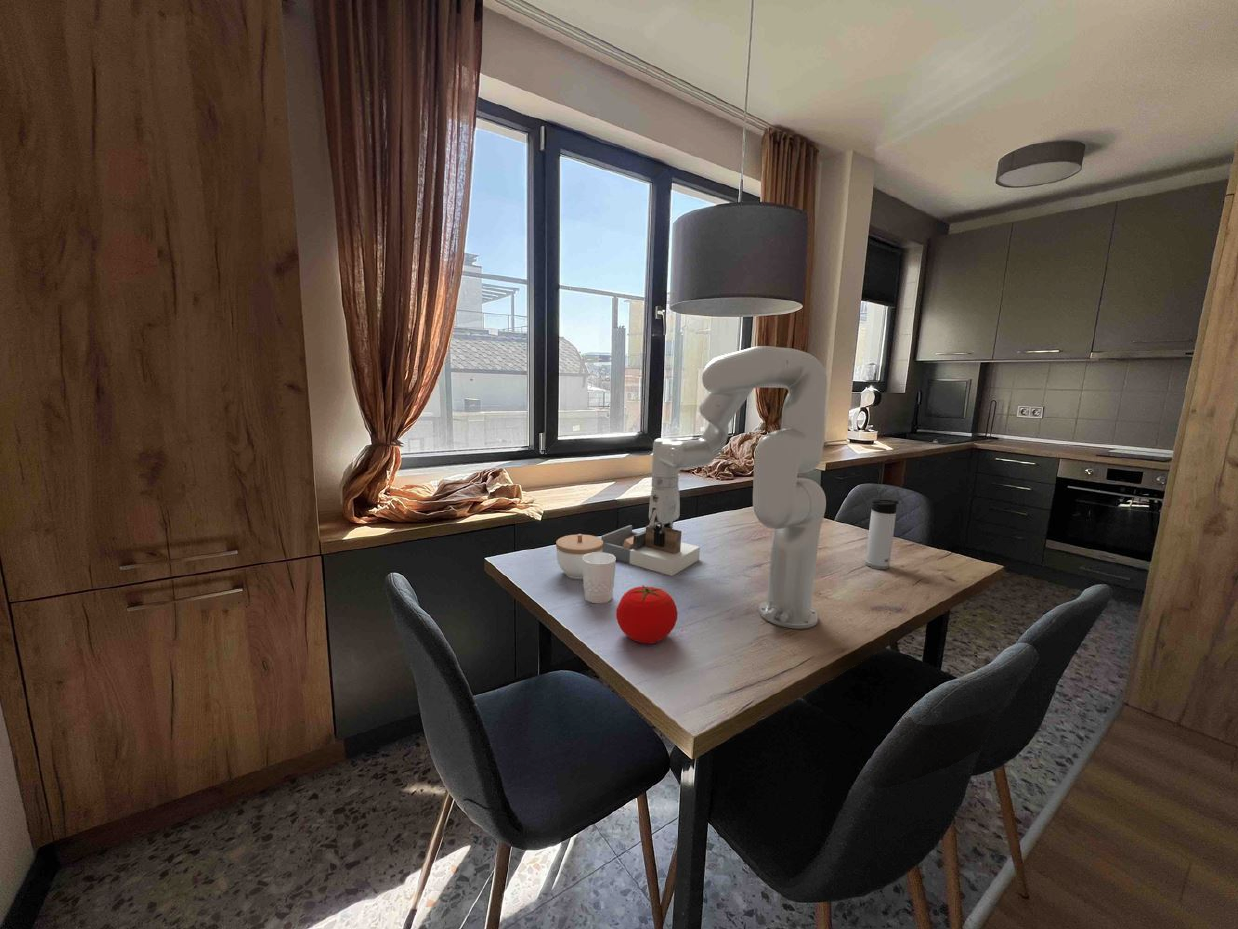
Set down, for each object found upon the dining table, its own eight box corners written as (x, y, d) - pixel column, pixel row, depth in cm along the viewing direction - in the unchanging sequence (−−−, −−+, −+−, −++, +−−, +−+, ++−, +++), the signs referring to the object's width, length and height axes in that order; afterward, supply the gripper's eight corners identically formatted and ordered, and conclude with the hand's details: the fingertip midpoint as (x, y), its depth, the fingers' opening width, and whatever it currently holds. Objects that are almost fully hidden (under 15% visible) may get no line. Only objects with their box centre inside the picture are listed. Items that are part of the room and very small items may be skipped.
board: (671, 575, 130) (672, 561, 130) (629, 563, 138) (630, 550, 138) (699, 559, 143) (699, 546, 142) (658, 549, 151) (659, 537, 151)
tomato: (606, 633, 100) (607, 584, 98) (652, 618, 107) (653, 572, 105) (639, 658, 91) (641, 606, 89) (687, 640, 98) (689, 591, 96)
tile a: (631, 544, 139) (624, 539, 140) (625, 558, 141) (619, 553, 142) (640, 540, 143) (634, 535, 144) (635, 553, 145) (629, 549, 146)
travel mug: (892, 571, 138) (901, 503, 135) (866, 568, 140) (874, 501, 137) (888, 564, 144) (896, 498, 141) (863, 561, 146) (871, 496, 143)
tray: (629, 563, 138) (630, 543, 137) (600, 555, 145) (601, 535, 144) (657, 550, 150) (658, 531, 149) (629, 542, 157) (630, 525, 156)
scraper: (666, 558, 132) (667, 537, 131) (633, 548, 138) (633, 528, 137) (687, 547, 141) (688, 527, 140) (655, 538, 148) (656, 520, 147)
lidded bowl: (556, 584, 123) (556, 542, 121) (555, 566, 135) (555, 528, 133) (605, 582, 125) (606, 541, 123) (599, 564, 137) (600, 527, 135)
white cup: (607, 607, 111) (608, 566, 109) (576, 601, 114) (577, 560, 112) (619, 593, 118) (620, 555, 117) (589, 588, 121) (590, 550, 119)
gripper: (661, 488, 128) (658, 554, 131) (690, 479, 141) (687, 540, 144) (637, 484, 132) (635, 548, 135) (668, 476, 145) (665, 535, 148)
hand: (662, 543), depth 139 cm, fingers closed on scraper, 3 cm apart
